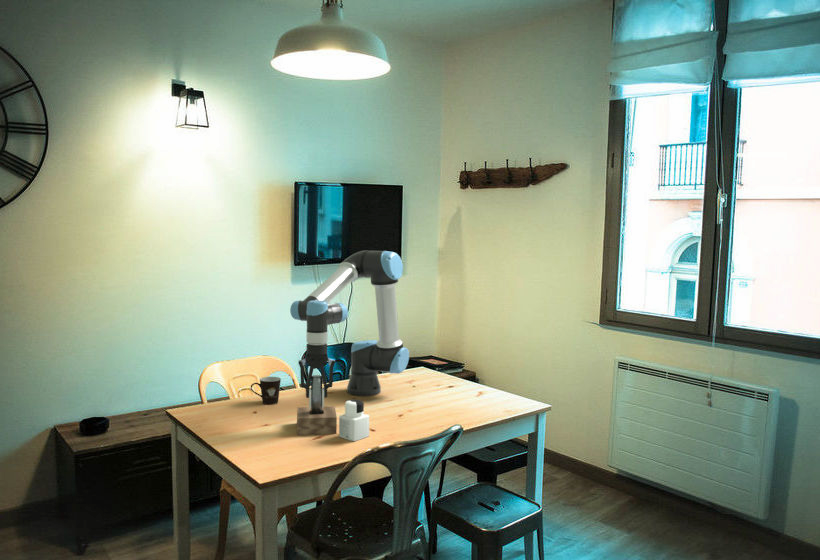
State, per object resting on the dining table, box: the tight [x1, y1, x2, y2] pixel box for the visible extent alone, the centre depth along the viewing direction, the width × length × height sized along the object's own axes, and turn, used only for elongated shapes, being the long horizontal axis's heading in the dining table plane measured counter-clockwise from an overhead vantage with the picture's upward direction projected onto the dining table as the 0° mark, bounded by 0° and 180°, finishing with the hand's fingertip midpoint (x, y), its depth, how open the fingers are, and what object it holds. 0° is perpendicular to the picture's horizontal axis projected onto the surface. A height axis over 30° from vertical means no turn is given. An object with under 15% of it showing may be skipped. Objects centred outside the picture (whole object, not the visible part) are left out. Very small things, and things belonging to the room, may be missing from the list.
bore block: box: [296, 405, 338, 436], centre depth 234 cm, size 14×14×6 cm
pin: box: [310, 374, 323, 415], centre depth 234 cm, size 4×4×15 cm
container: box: [338, 398, 370, 442], centre depth 226 cm, size 8×8×13 cm
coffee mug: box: [250, 376, 282, 406], centre depth 267 cm, size 12×9×10 cm
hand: (316, 406), depth 234 cm, fingers closed on pin, 4 cm apart
